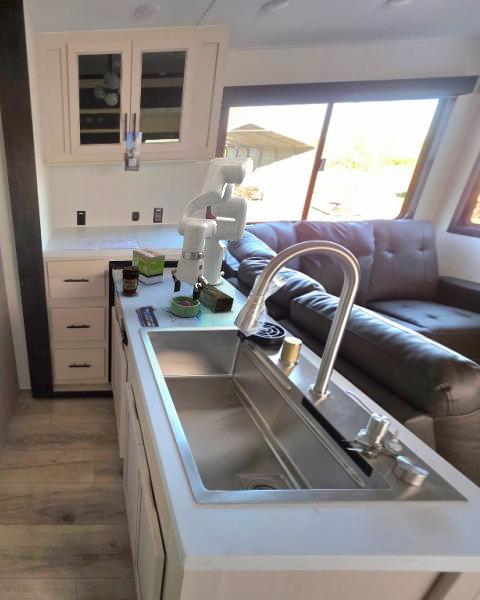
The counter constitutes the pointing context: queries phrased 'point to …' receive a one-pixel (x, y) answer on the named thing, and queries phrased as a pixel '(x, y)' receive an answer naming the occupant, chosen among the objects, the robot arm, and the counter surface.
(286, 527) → the counter surface
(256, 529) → the counter surface
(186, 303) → the ball
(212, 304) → the brown wooden block
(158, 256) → the tea box
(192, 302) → the bowl
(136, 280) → the coffee cup
